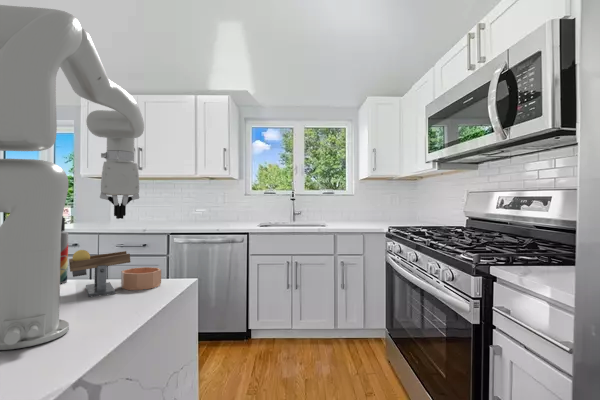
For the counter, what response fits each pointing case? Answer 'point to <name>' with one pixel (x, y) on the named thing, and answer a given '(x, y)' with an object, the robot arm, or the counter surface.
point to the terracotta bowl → (140, 278)
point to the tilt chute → (98, 262)
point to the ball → (81, 255)
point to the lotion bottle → (64, 253)
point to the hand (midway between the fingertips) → (119, 218)
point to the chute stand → (100, 283)
